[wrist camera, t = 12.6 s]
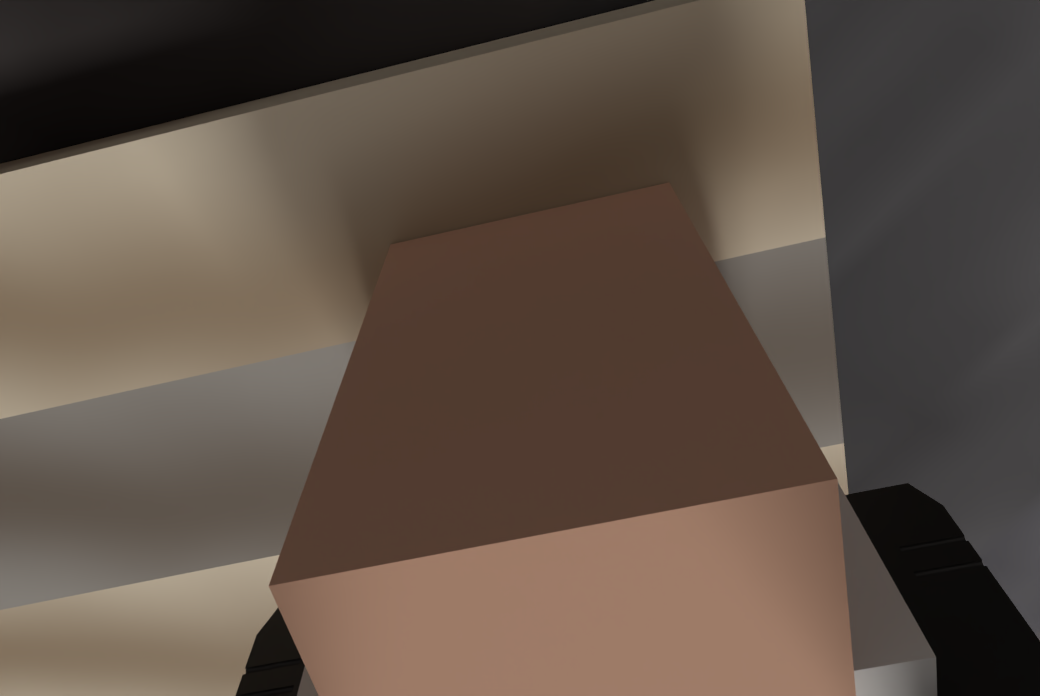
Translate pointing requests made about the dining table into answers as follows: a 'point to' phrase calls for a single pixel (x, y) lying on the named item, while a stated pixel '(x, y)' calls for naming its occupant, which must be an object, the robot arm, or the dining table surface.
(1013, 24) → the dining table surface
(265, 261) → the board
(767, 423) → the block
